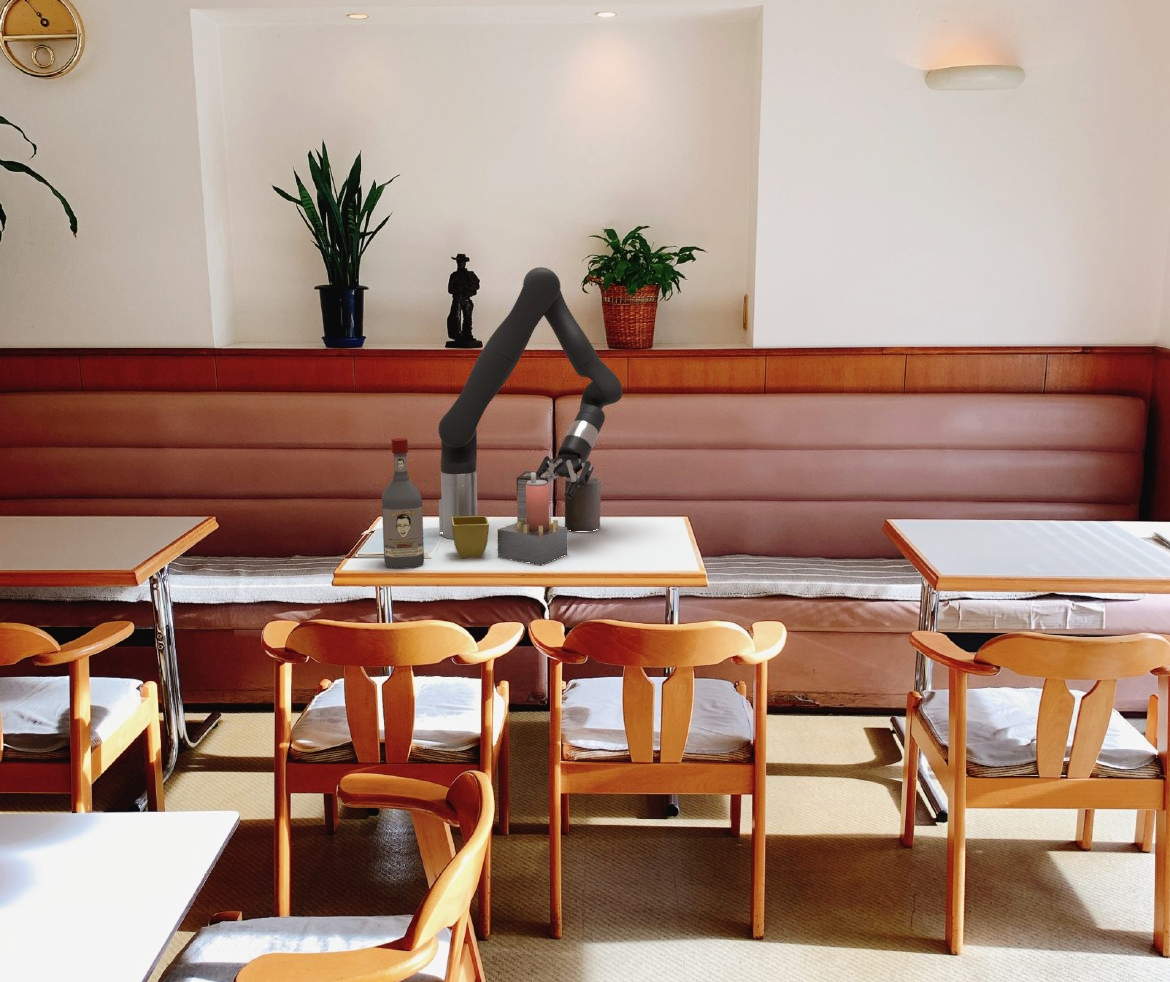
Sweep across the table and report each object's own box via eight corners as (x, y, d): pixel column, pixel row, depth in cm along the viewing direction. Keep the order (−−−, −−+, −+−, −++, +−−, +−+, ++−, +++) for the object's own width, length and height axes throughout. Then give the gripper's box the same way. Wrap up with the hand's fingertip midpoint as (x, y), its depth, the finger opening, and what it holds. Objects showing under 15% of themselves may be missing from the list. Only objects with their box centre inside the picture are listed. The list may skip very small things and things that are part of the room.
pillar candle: (562, 532, 279) (562, 477, 275) (567, 523, 288) (567, 470, 285) (598, 533, 278) (599, 478, 274) (602, 524, 287) (603, 471, 284)
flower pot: (487, 550, 261) (486, 515, 259) (490, 559, 253) (489, 523, 251) (451, 552, 260) (450, 516, 258) (453, 561, 251) (452, 525, 249)
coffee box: (525, 528, 282) (525, 470, 279) (548, 530, 281) (548, 471, 278) (516, 537, 274) (515, 477, 270) (540, 538, 272) (539, 478, 269)
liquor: (383, 559, 253) (378, 437, 246) (421, 557, 255) (417, 435, 248) (385, 569, 244) (380, 443, 238) (424, 567, 246) (420, 441, 240)
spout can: (522, 529, 253) (521, 472, 250) (535, 525, 257) (534, 469, 254) (540, 532, 250) (539, 474, 247) (553, 527, 254) (552, 471, 251)
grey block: (488, 555, 256) (487, 519, 254) (515, 545, 265) (514, 511, 263) (541, 565, 248) (541, 528, 246) (567, 555, 257) (567, 519, 255)
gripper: (549, 431, 265) (523, 483, 258) (596, 436, 257) (570, 489, 250) (561, 449, 270) (536, 500, 264) (608, 454, 263) (583, 507, 256)
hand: (553, 495), depth 257 cm, fingers open, 8 cm apart
